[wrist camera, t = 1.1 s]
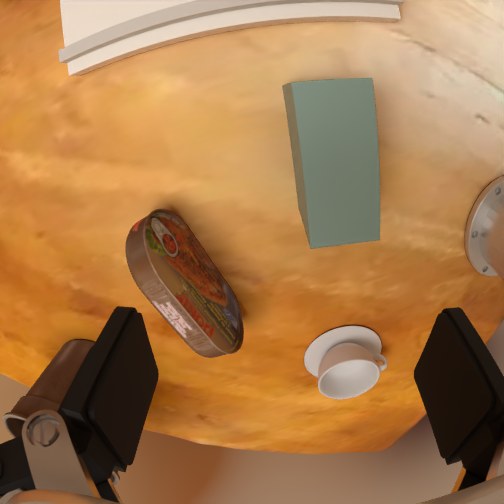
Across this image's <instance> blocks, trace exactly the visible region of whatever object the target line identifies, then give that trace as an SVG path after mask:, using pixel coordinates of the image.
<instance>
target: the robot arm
mask: <svg viewBox="0 0 504 504" xmlns="http://www.w3.org/2000/svg"><path fill="white" fill-rule="evenodd" d="M465 250H466V254H467V257H468V260H469V262H470V263H471V265H472V266H473V267H474V268H475V269H476V270H477V271H478V272H479V273H481V274H482V275H485V276H498V275H499V276H500V277H501V278H502V279H503V280H504V176H501V177H499V178H497V179H496V180H494V181H493V182H491V183H490V184H489V185H488V186H487V187H486V188H485V189H484V190H483V192H482V193H481V194H480V195H479V197H478V199H477V200H476V202H475V204H474V206H473V208H472V210H471V212H470V215H469V218H468V222H467V225H466V231H465ZM414 379H415V382H416V384H417V387H418V390H419V392H420V395H421V398H422V400H423V403H424V406H425V409H426V412H427V415H428V417H429V421H430V423H431V426H432V430H433V433H434V436H435V439H436V442H437V445H438V448H439V452H440V455H441V456H442V458H445V460H446V463H447V465H449V464H452V463H455V462H459V461H460V460H461V461H462V464H463V467H462V469H461V472H460V474H459V476H458V479H457V481H456V483H455V486H454V488H453V490H452V492H451V494H448V495H445V496H442V497H439V498H436V499H432V500H429V501H425V502H421V503H418V504H504V376H503V375H502V373H501V371H500V369H499V367H498V366H497V364H496V362H495V361H494V359H493V357H492V356H491V354H490V353H489V351H488V349H487V347H486V346H485V344H484V342H483V341H482V339H481V338H480V336H479V334H478V333H477V331H476V330H475V328H474V327H473V325H472V324H471V322H470V321H469V319H468V318H467V316H466V315H465V313H464V312H463V310H462V309H461V308H459V307H458V308H446V309H444V310H443V311H442V312H441V313H440V314H439V315H438V316H437V319H436V321H435V324H434V326H433V329H432V331H431V334H430V336H429V338H428V341H427V343H426V345H425V348H424V350H423V352H422V354H421V357H420V359H419V361H418V363H417V365H416V367H415V370H414ZM157 381H158V368H157V365H156V362H155V359H154V355H153V352H152V349H151V345H150V342H149V339H148V335H147V331H146V328H145V324H144V321H143V317H142V314H141V313H137V310H136V309H135V308H133V307H120V306H118V307H116V308H115V310H114V311H113V313H112V315H111V316H110V318H109V320H108V321H107V323H106V325H105V327H104V328H103V330H102V332H101V334H100V335H99V337H98V339H97V341H96V343H95V344H94V345H93V346H92V347H91V348H90V350H89V351H88V353H87V355H86V357H85V359H84V360H83V362H82V364H81V366H80V368H79V370H78V372H77V374H76V375H75V377H74V379H73V381H72V383H71V385H70V387H69V389H68V391H67V393H66V395H65V397H64V399H63V401H62V403H61V405H60V407H59V409H58V411H57V412H55V411H52V410H46V409H44V410H39V411H37V412H35V413H33V414H31V415H30V416H29V417H28V418H27V420H26V421H25V423H24V425H23V429H22V435H21V436H19V437H16V438H14V439H12V440H9V441H7V442H4V443H2V444H0V504H124V503H123V502H122V500H121V498H120V496H119V494H118V493H117V491H116V489H115V487H114V485H113V483H112V481H111V479H110V478H111V475H112V472H113V469H114V470H119V471H122V472H126V468H127V465H131V464H132V463H133V460H134V457H135V454H136V450H137V447H138V443H139V440H140V436H141V433H142V430H143V426H144V423H145V420H146V416H147V413H148V410H149V407H150V403H151V400H152V397H153V394H154V391H155V388H156V384H157Z"/></svg>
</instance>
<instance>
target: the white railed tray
mask: <svg viewBox="0 0 504 504" xmlns="http://www.w3.org/2000/svg"><path fill="white" fill-rule="evenodd" d="M403 2H404V1H403V0H60V5H61V16H62V26H63V35H64V43H65V47H64V48H62V49H60V50H59V51H58V52H59V59H60V63H67V64H68V70H69V76H81V75H83V74H85V73H88V72H90V71H93V70H95V69H98V68H100V67H103V66H105V65H108V64H111V63H113V62H116V61H119V60H122V59H124V58H127V57H130V56H133V55H136V54H139V53H143V52H146V51H149V50H152V49H156V48H159V47H163V46H166V45H170V44H174V43H177V42H181V41H185V40H189V39H194V38H198V37H203V36H207V35H212V34H217V33H222V32H228V31H234V30H240V29H246V28H253V27H260V26H268V25H277V24H288V23H301V22H319V21H371V22H389V23H392V22H395V21H397V20H399V19H401V17H400V12H399V8H398V5H399V4H401V3H403Z"/></svg>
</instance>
